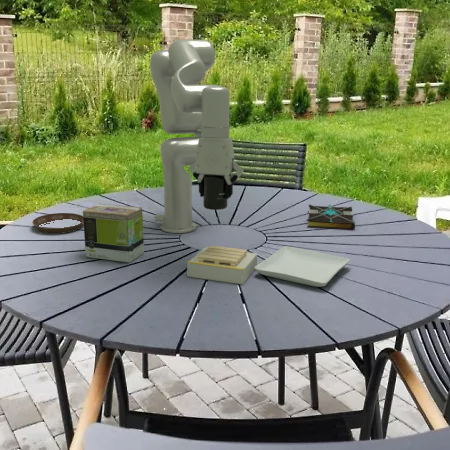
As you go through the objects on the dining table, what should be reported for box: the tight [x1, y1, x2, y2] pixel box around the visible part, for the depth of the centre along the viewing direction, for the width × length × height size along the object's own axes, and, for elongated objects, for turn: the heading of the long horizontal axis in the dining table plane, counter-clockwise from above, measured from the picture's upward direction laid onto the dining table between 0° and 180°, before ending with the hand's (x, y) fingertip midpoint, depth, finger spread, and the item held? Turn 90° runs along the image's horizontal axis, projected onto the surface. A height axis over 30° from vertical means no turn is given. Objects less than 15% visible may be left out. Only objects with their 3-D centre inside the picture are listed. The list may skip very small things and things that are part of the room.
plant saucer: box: [32, 212, 84, 234], centre depth 200 cm, size 18×18×3 cm
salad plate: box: [254, 245, 350, 288], centre depth 163 cm, size 21×21×3 cm
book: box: [306, 203, 356, 231], centre depth 212 cm, size 22×17×5 cm
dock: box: [186, 245, 258, 285], centre depth 162 cm, size 16×14×6 cm
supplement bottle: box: [202, 175, 229, 211], centre depth 161 cm, size 7×7×12 cm
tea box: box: [82, 203, 145, 264], centre depth 172 cm, size 15×10×15 cm
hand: (215, 196), depth 162 cm, fingers closed on supplement bottle, 6 cm apart
